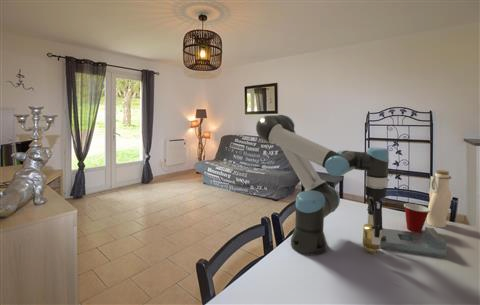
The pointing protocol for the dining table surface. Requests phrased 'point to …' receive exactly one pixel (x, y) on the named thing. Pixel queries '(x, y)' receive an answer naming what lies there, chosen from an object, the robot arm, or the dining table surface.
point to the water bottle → (439, 199)
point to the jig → (414, 241)
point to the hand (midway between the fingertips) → (373, 236)
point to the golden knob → (369, 239)
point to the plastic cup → (415, 216)
